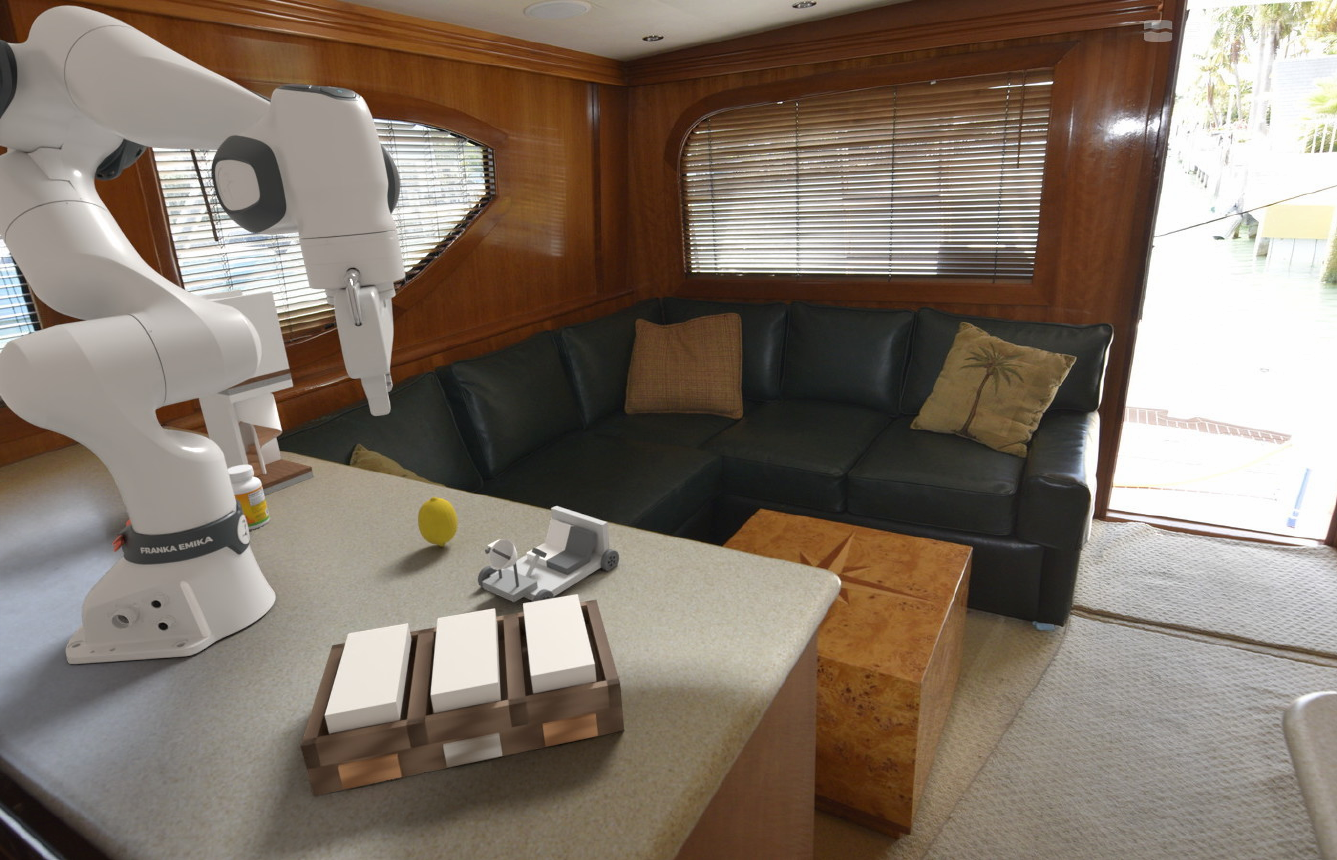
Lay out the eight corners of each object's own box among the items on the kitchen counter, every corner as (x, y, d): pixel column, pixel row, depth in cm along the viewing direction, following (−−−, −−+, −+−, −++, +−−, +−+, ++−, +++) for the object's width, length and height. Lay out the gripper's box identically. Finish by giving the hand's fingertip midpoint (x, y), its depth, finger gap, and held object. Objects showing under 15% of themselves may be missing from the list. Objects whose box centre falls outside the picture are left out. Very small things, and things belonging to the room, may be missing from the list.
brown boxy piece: (312, 798, 66) (299, 749, 65) (342, 688, 81) (332, 645, 79) (624, 732, 72) (620, 685, 70) (600, 640, 87) (596, 599, 85)
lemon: (450, 555, 108) (442, 505, 106) (415, 554, 110) (406, 504, 107) (467, 538, 114) (459, 490, 111) (434, 536, 115) (425, 488, 112)
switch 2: (434, 713, 68) (430, 695, 68) (440, 634, 80) (437, 618, 80) (500, 700, 70) (498, 682, 69) (497, 624, 82) (494, 608, 81)
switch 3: (533, 693, 70) (530, 676, 69) (525, 619, 82) (522, 603, 81) (596, 681, 71) (594, 663, 71) (579, 609, 83) (577, 594, 83)
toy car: (512, 557, 87) (451, 532, 94) (522, 628, 91) (462, 600, 98) (615, 501, 101) (555, 484, 108) (620, 566, 104) (561, 545, 111)
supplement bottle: (226, 529, 121) (211, 473, 118) (254, 515, 126) (240, 461, 123) (249, 533, 119) (235, 477, 116) (277, 519, 124) (264, 464, 121)
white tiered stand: (255, 499, 133) (205, 302, 121) (223, 489, 138) (172, 299, 127) (313, 476, 142) (272, 291, 130) (281, 468, 147) (238, 289, 136)
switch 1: (329, 733, 66) (324, 715, 66) (351, 649, 78) (348, 633, 78) (399, 720, 68) (395, 701, 67) (411, 639, 80) (408, 623, 79)
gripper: (386, 270, 64) (416, 423, 68) (391, 255, 82) (414, 376, 87) (307, 278, 62) (342, 435, 66) (330, 261, 81) (356, 384, 85)
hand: (383, 401), depth 77 cm, fingers open, 8 cm apart
